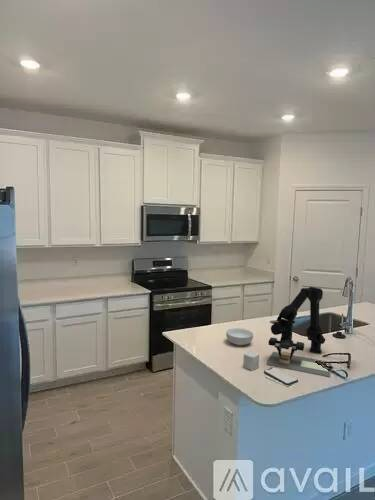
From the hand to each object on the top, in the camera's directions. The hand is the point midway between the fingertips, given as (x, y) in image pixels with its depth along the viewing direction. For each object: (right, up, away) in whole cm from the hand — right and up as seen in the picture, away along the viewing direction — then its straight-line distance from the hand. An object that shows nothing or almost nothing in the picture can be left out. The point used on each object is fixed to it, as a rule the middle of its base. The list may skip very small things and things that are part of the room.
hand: (285, 358), depth 191 cm
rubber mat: (+7, -2, -3) cm, 8 cm away
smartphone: (-8, -4, -19) cm, 21 cm away
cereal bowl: (-22, +1, +26) cm, 34 cm away
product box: (-21, -2, -9) cm, 23 cm away
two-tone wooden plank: (0, -1, 0) cm, 1 cm away
